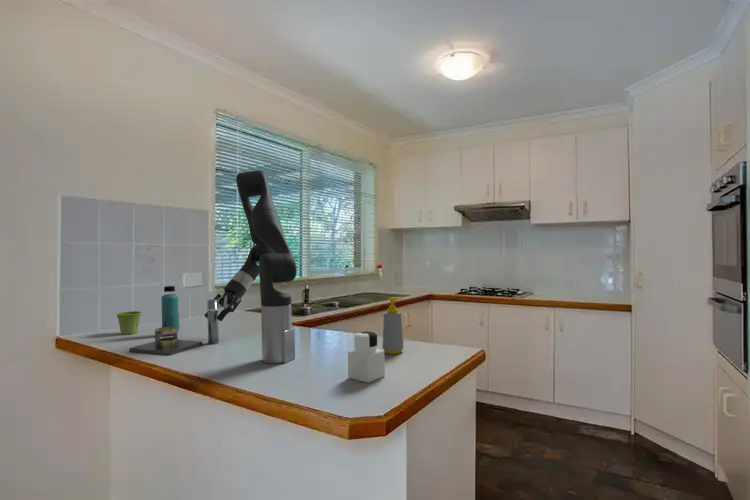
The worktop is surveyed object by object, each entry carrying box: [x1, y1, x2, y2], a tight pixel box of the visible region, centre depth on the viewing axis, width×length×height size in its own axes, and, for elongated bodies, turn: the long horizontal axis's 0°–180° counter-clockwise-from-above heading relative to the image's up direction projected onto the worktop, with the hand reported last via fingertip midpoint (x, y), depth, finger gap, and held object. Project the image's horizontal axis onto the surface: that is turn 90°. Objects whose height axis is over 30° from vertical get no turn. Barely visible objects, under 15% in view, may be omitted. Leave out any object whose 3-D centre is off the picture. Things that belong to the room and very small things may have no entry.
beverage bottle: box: [160, 285, 180, 332], centre depth 176 cm, size 6×7×20 cm
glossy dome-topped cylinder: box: [206, 298, 220, 345], centre depth 159 cm, size 4×4×16 cm
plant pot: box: [115, 310, 143, 336], centre depth 180 cm, size 9×9×9 cm
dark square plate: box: [128, 326, 203, 356], centre depth 152 cm, size 18×15×7 cm
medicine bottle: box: [347, 331, 386, 384], centre depth 115 cm, size 7×7×12 cm
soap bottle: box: [382, 296, 404, 355], centre depth 141 cm, size 7×7×18 cm
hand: (212, 318), depth 159 cm, fingers open, 8 cm apart
